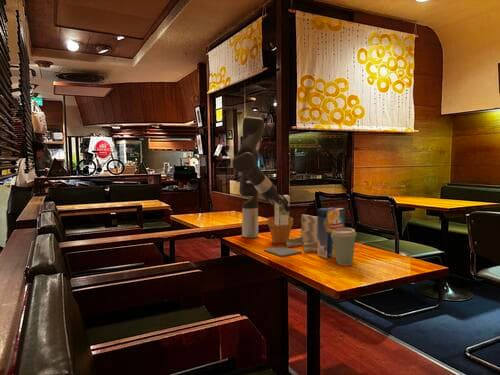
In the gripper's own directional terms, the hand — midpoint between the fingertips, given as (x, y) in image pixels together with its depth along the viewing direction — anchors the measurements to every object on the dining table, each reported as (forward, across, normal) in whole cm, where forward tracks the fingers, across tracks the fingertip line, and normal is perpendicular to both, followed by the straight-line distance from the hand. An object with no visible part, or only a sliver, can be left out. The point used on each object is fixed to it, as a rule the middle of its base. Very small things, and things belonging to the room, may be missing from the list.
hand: (284, 209), depth 174 cm
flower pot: (+24, +19, +6) cm, 31 cm away
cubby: (+24, 0, +6) cm, 24 cm away
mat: (+14, 0, +16) cm, 21 cm away
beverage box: (+25, -18, +5) cm, 31 cm away
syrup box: (+4, 0, +6) cm, 8 cm away
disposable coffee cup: (+20, -31, +10) cm, 38 cm away
